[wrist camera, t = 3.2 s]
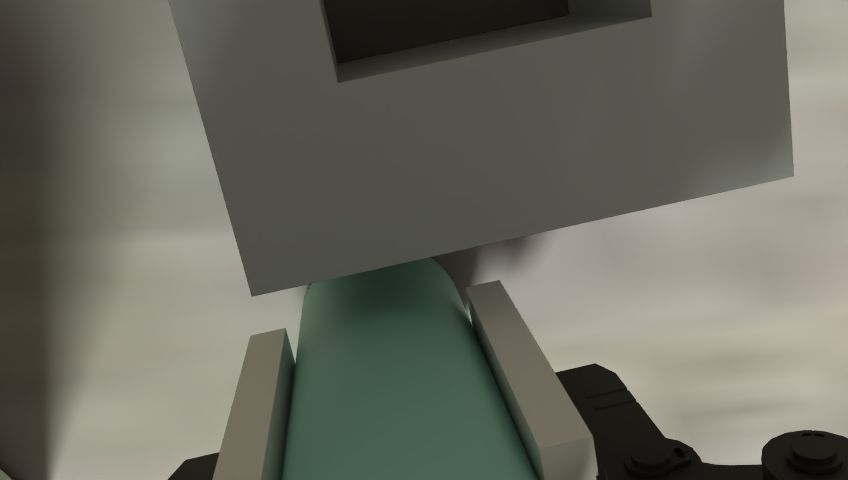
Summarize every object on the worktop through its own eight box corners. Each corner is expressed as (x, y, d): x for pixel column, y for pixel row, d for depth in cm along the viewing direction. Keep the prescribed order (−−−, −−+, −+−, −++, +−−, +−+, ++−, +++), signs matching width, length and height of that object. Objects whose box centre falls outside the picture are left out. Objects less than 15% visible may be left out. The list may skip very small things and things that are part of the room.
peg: (322, 408, 20) (292, 1189, 7) (283, 262, 19) (156, 861, 6) (474, 372, 20) (737, 1067, 7) (445, 226, 19) (693, 724, 6)
